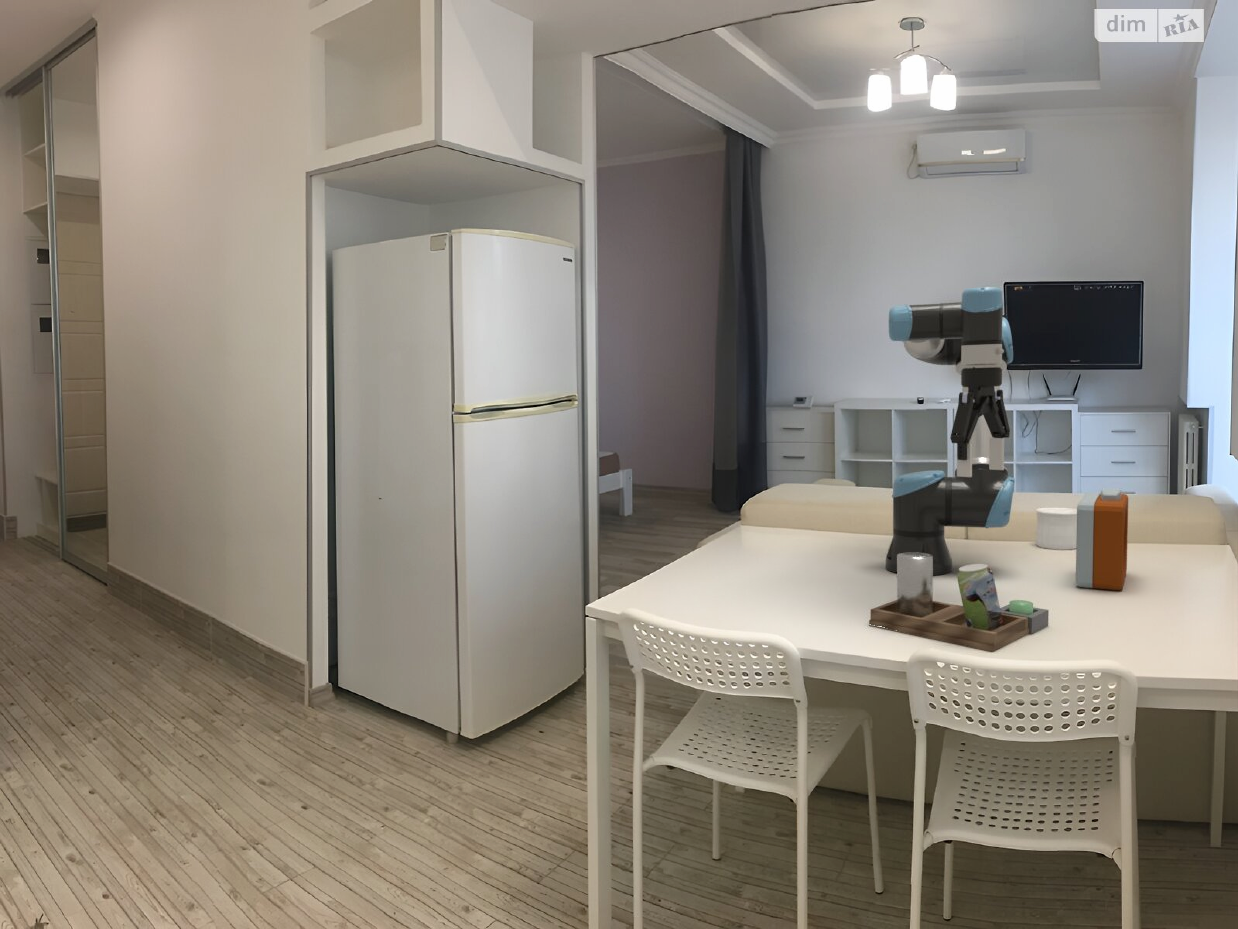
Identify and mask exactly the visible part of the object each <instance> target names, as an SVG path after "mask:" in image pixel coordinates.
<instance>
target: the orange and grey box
mask: <svg viewBox="0 0 1238 929" xmlns="http://www.w3.org/2000/svg"><path fill="white" fill-rule="evenodd" d="M1076 506H1077V507H1076V510H1077V537H1076V548H1075V551H1076V552H1075V584H1076V586H1077V587H1078V588H1083V589H1096V590H1105V591H1106V590H1108V591H1117V592H1118V591H1122V590H1123V587H1124V584H1125V580H1126V577H1127V576H1126V575H1127V569H1128V568H1127V566H1128V535H1129V534H1128V532H1129V529H1128V527H1129V496H1128V494H1126V493H1122V489H1121V488H1105V487H1103V488H1101V489H1100V492H1086V493H1084V494H1083V496H1082V497H1081V499H1080V501H1079V502H1078V504H1077V505H1076Z"/></svg>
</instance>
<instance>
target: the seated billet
mask: <svg viewBox="0 0 1238 929" xmlns="http://www.w3.org/2000/svg"><path fill="white" fill-rule="evenodd" d="M933 576H934V575H933V556H932V555H930V554H926V553H918V552H907V553H900V554H898V555H897V573H896V582H897V583H896V600H897V613H900V614H905V615H910V616H915V617H920V618H923V617H925V616H927V615H930V614H932V613H933V601H934V599H933V598H934V596H933V595H934V591H933V589H934V588H933V587H934V584H933V583H934V577H933Z"/></svg>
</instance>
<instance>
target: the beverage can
mask: <svg viewBox="0 0 1238 929" xmlns="http://www.w3.org/2000/svg"><path fill="white" fill-rule="evenodd" d="M956 579H957V584H958V588H959V592H960V593H959V594H960V598H961V603H962V606H963V609H964V613H965V618H966V623H967V627H971V628H976V629H981V630H986V631H991V632H992V631H994V630H996V629H998V628H999V627H1000V626H1001V625H1002V624H1003V620H1002V615H1001V610H1000V608H1001V606H1000V602H999V597H998V592H997V587H996V581H995V578H994V573H993V571H992V569H991V568H990V567H989V565H988V564H987V563H985V562H983V563H982V562H979V563H976V562H975V563H969V564H966V565H962V566H960V567H958V572H957V575H956Z"/></svg>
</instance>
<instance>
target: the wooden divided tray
mask: <svg viewBox="0 0 1238 929" xmlns="http://www.w3.org/2000/svg"><path fill="white" fill-rule="evenodd" d="M1001 615H1002V620H1003V624H1002V625H1001V626H1000V627H999V628H998V629H996V630H994V631H992V632H991V631H986V630H981V629H976V628H971V627H967V623H966V618H965V613H964V609H963V605H958V604H952V603H946V602H943V601H942V602H941V601H936V600H935V601H934V600H933V613H932V614H930V615H927V616H925V617H923V618H920V617H915V616H910V615H905V614H900V613H897V599H895V600H892V601H890V602H887V603H884V604H882V605H879V606H876V607H873V608H870V619H869V621H868V625H869V624H871V625H875V626H882V627H885V628H888V629H891V630H890V631H893V630H897V631H896V632H898V631H900V632H899V633H902V632H903V633H904V634H907V633H908V634H909V635H913V636H918V637H921V638H926V639H931V640H936V641H941V642H946V643H950V644H955V645H959V646H960V645H961V646H964V647H969V648H973V649H978V650H982V651H986V652H987V651H988V652H992V653H994V652H996V651H997V650H1000V649H1002V648H1003V647H1005V646H1007V645H1009V644H1011V643H1014V642H1016V641H1017V640H1019V639H1022V638H1023V637H1025V636H1027V635H1030V634H1029V628H1028V618H1026V617H1020V616H1015V615H1009V614H1003V613H1001ZM888 629H887V630H888ZM908 634H907V635H908Z"/></svg>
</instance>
